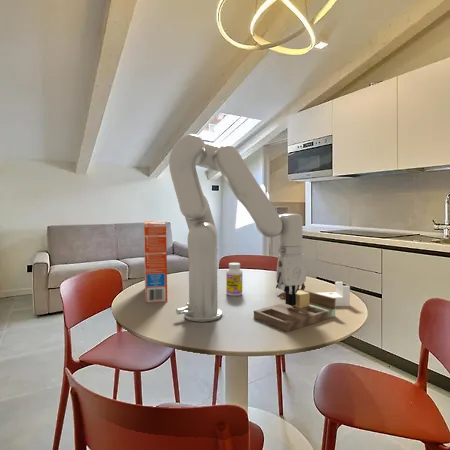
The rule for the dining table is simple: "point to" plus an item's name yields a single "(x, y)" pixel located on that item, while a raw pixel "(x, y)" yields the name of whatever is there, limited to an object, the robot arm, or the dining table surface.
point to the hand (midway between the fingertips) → (290, 304)
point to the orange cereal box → (155, 261)
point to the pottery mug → (297, 289)
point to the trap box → (298, 313)
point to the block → (302, 299)
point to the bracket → (339, 294)
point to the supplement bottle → (234, 280)
